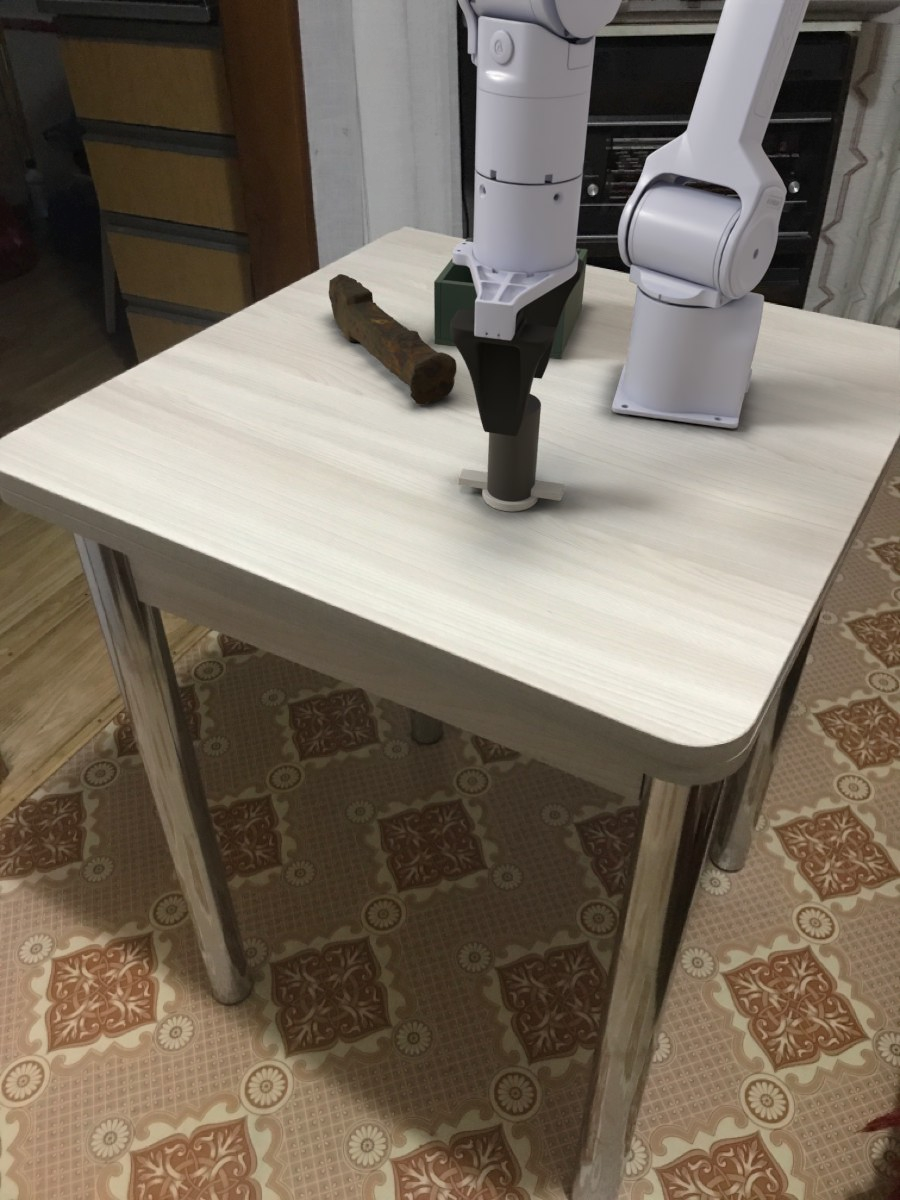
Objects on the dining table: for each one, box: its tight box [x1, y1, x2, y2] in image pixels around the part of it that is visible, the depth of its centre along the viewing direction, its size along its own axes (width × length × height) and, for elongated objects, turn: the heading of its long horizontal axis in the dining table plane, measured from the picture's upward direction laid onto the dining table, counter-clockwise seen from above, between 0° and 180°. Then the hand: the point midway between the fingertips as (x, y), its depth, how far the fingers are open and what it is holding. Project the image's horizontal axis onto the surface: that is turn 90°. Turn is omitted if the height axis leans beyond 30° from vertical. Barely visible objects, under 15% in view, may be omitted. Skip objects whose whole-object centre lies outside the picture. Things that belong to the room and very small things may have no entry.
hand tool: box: [328, 273, 457, 406], centre depth 76 cm, size 19×4×5 cm, turn 28°
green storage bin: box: [433, 237, 589, 360], centre depth 81 cm, size 11×11×6 cm
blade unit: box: [458, 393, 565, 512], centre depth 59 cm, size 7×4×7 cm, turn 75°
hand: (515, 401), depth 57 cm, fingers open, 7 cm apart
